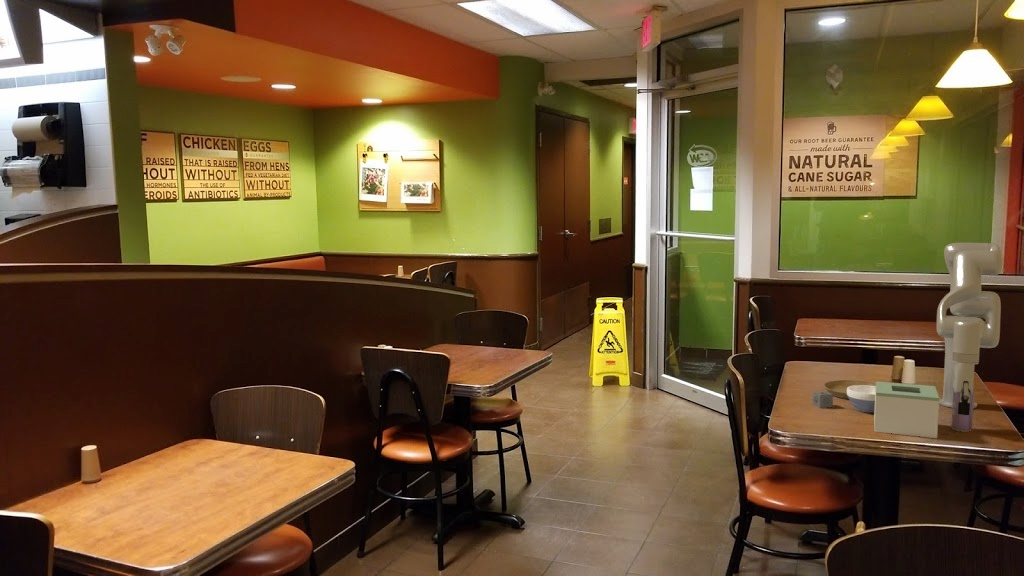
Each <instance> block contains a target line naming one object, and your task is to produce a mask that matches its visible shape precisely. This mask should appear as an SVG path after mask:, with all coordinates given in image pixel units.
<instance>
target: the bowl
mask: <svg viewBox="0 0 1024 576" xmlns="http://www.w3.org/2000/svg"><path fill="white" fill-rule="evenodd" d="M875 388H876V386H868V385H853V386H849V387H847V396H848V398H849V399H848V400H849V401H850V404H851V405H852V406H853V408H854V410H856V411H857V410H858V412H860V411H861V412H862V413H865V412H866V414H874V410H875Z"/></svg>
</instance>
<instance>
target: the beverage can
mask: <svg viewBox="0 0 1024 576" xmlns="http://www.w3.org/2000/svg"><path fill="white" fill-rule="evenodd" d="M970 392H971V390H970ZM961 393H964V391H961ZM962 396H963V395H962ZM974 400H975V385H973V392H972V394H970V412H969V415H959V414H958V402H960V392H958V393H955V391H954V387H953V401H952V408H951V418H950V420H951V424H950V428H951V429H952V430H953V431H955V430H956V432H960V431H961V433H969V431H970V432H971V431H972V430H973V417H974V416H973V415H974V408H973V404H974V402H975V401H974Z"/></svg>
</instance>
